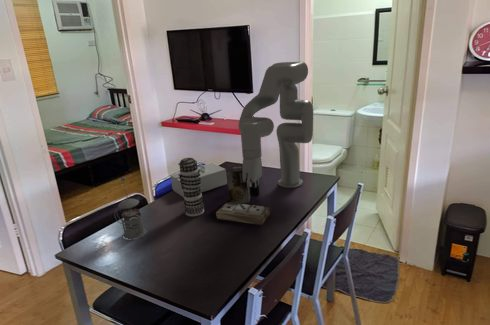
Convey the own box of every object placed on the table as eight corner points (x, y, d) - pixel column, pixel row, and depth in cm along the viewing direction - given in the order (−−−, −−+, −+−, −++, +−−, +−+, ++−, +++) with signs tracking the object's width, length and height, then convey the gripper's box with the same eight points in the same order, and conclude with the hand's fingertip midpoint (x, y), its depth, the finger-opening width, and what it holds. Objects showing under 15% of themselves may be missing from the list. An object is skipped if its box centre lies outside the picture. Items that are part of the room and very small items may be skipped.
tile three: (240, 209, 152) (239, 203, 151) (250, 211, 150) (250, 204, 149) (235, 215, 148) (234, 208, 147) (246, 216, 146) (245, 209, 145)
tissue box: (227, 184, 186) (225, 165, 182) (184, 198, 173) (181, 178, 169) (213, 177, 197) (211, 159, 194) (172, 190, 184) (169, 170, 181)
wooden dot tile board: (227, 208, 158) (226, 202, 157) (269, 213, 150) (269, 207, 149) (216, 218, 150) (216, 212, 149) (261, 225, 141) (261, 218, 140)
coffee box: (250, 197, 167) (247, 165, 162) (249, 203, 161) (246, 170, 156) (231, 197, 168) (228, 166, 163) (229, 203, 162) (226, 171, 157)
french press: (140, 240, 137) (128, 182, 129) (113, 240, 140) (100, 182, 132) (151, 228, 146) (140, 172, 138) (125, 227, 149) (113, 172, 141)
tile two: (253, 211, 150) (253, 204, 149) (264, 212, 148) (264, 206, 147) (249, 216, 145) (248, 210, 144) (260, 218, 143) (259, 211, 142)
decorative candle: (206, 214, 154) (199, 160, 146) (185, 218, 152) (177, 164, 144) (203, 205, 163) (197, 154, 154) (183, 209, 161) (175, 158, 153)
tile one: (227, 210, 155) (226, 203, 154) (237, 211, 153) (236, 205, 152) (221, 215, 151) (221, 208, 150) (232, 216, 149) (231, 210, 148)
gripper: (250, 147, 146) (253, 188, 151) (235, 158, 133) (238, 202, 138) (267, 148, 142) (269, 189, 148) (253, 159, 130) (256, 204, 135)
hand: (254, 195), depth 143 cm, fingers closed
